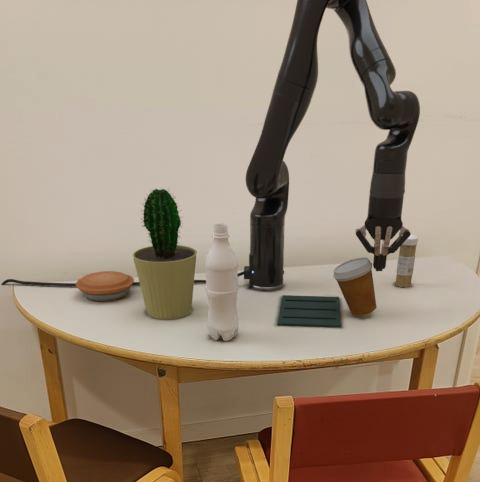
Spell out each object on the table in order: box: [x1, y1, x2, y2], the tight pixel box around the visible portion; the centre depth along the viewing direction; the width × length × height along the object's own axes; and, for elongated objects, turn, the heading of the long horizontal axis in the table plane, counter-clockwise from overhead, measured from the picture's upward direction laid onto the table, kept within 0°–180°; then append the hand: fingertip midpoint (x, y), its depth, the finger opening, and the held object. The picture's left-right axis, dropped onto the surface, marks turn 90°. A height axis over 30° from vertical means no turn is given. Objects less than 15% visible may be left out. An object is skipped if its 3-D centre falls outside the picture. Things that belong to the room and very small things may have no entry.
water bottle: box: [204, 223, 240, 342], centre depth 131 cm, size 7×7×25 cm
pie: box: [74, 270, 135, 302], centre depth 162 cm, size 15×16×5 cm
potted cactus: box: [132, 188, 198, 320], centre depth 144 cm, size 15×15×30 cm
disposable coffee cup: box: [333, 256, 377, 317], centre depth 145 cm, size 10×10×12 cm
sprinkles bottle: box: [394, 234, 419, 288], centre depth 164 cm, size 5×5×13 cm
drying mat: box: [277, 294, 342, 329], centre depth 151 cm, size 15×20×1 cm
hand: (378, 270), depth 143 cm, fingers closed
